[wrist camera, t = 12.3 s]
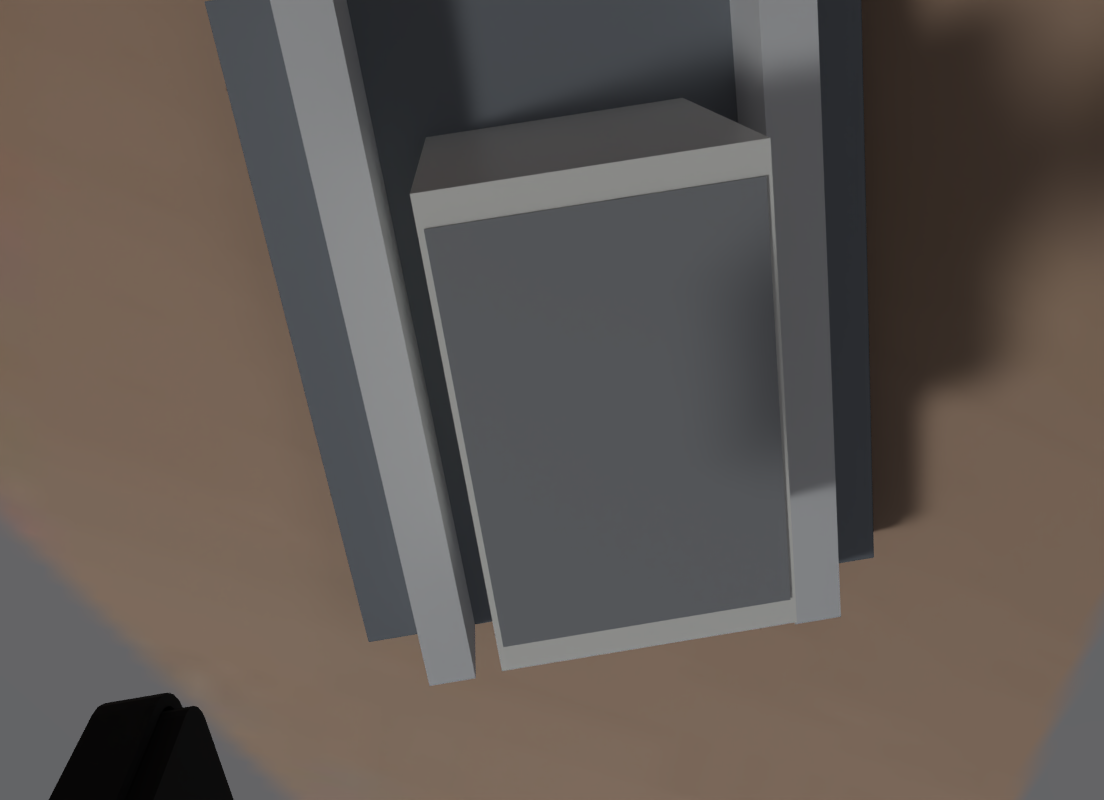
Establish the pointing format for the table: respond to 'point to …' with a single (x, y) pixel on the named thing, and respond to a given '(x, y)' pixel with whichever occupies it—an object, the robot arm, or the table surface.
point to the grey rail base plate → (398, 272)
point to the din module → (614, 374)
